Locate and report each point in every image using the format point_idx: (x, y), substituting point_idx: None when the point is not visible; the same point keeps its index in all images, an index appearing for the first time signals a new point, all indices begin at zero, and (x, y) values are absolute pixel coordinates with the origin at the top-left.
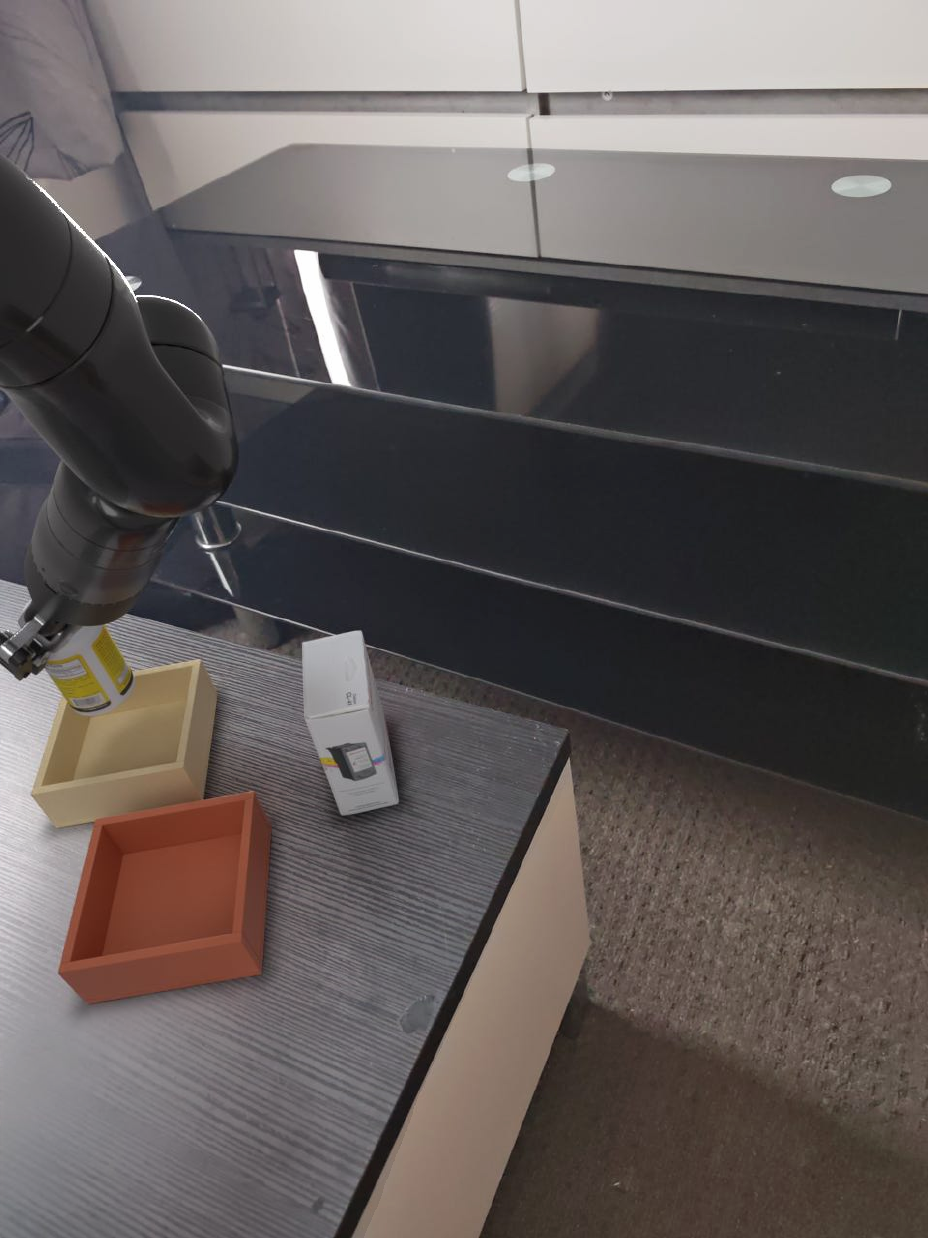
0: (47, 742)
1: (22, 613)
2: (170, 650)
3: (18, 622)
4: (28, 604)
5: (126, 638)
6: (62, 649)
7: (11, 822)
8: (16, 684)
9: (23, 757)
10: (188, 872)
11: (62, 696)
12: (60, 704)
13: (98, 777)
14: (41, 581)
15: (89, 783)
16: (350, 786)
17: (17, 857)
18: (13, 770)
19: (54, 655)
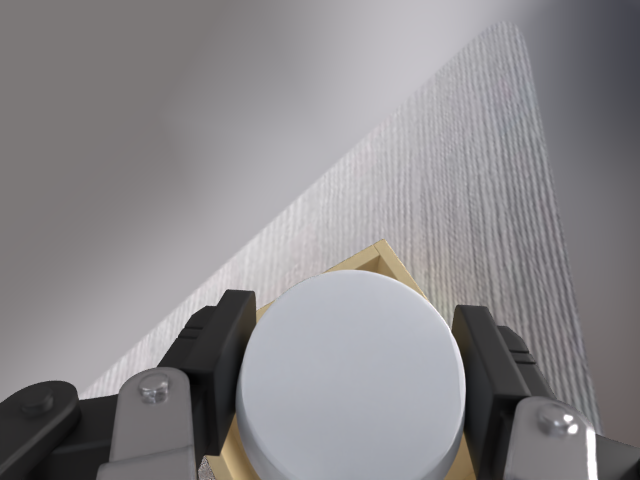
0: (267, 305)
1: (275, 301)
2: (546, 300)
3: (102, 465)
4: (324, 285)
5: (530, 211)
6: (261, 473)
7: (189, 298)
8: (388, 125)
9: (286, 230)
10: None
11: (358, 254)
12: (342, 264)
13: (224, 465)
14: None
15: (207, 458)
16: None
17: (140, 352)
18: (263, 233)
19: (243, 445)
